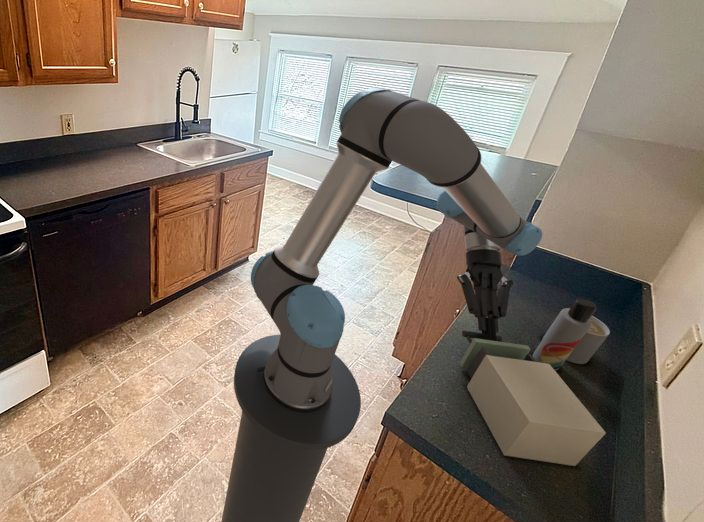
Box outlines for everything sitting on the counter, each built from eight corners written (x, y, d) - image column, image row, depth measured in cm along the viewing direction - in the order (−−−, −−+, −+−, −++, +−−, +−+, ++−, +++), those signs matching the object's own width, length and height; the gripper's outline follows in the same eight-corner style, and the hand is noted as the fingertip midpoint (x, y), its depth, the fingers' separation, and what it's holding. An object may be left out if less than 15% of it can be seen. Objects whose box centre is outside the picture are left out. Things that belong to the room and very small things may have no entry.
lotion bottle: (555, 375, 94) (601, 314, 84) (529, 360, 97) (570, 300, 88) (560, 364, 97) (605, 304, 88) (534, 349, 101) (575, 291, 91)
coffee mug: (587, 370, 96) (610, 342, 91) (540, 348, 102) (559, 320, 97) (588, 343, 105) (609, 316, 100) (545, 323, 111) (563, 297, 106)
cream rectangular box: (466, 386, 88) (485, 354, 83) (526, 395, 87) (549, 363, 82) (503, 455, 74) (529, 421, 69) (575, 466, 74) (606, 433, 69)
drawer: (448, 344, 98) (461, 318, 94) (496, 351, 98) (512, 325, 94) (490, 419, 80) (508, 391, 76) (550, 428, 79) (572, 401, 75)
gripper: (498, 257, 102) (506, 348, 95) (448, 251, 103) (453, 341, 96) (519, 251, 95) (529, 350, 88) (465, 245, 96) (471, 342, 89)
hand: (489, 345), depth 92 cm, fingers closed
